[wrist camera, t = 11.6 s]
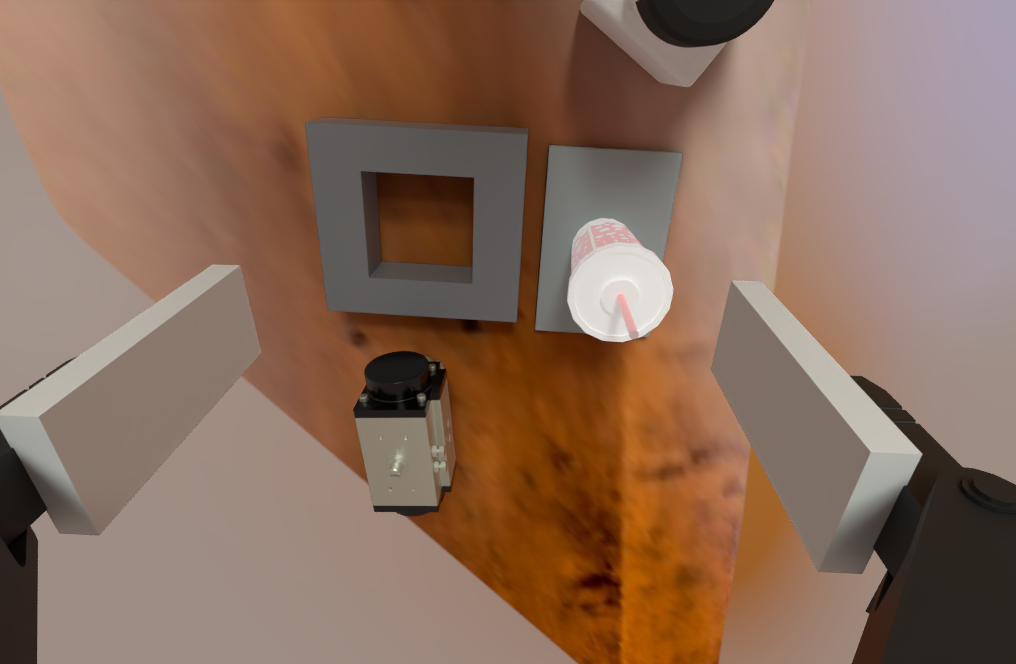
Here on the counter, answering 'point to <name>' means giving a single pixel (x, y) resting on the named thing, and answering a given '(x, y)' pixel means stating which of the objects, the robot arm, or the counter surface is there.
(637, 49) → the medicine bottle
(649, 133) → the counter surface
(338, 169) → the socket block
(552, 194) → the rubber mat
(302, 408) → the counter surface
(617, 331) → the beverage cup
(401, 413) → the pneumatic valve
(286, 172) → the counter surface
